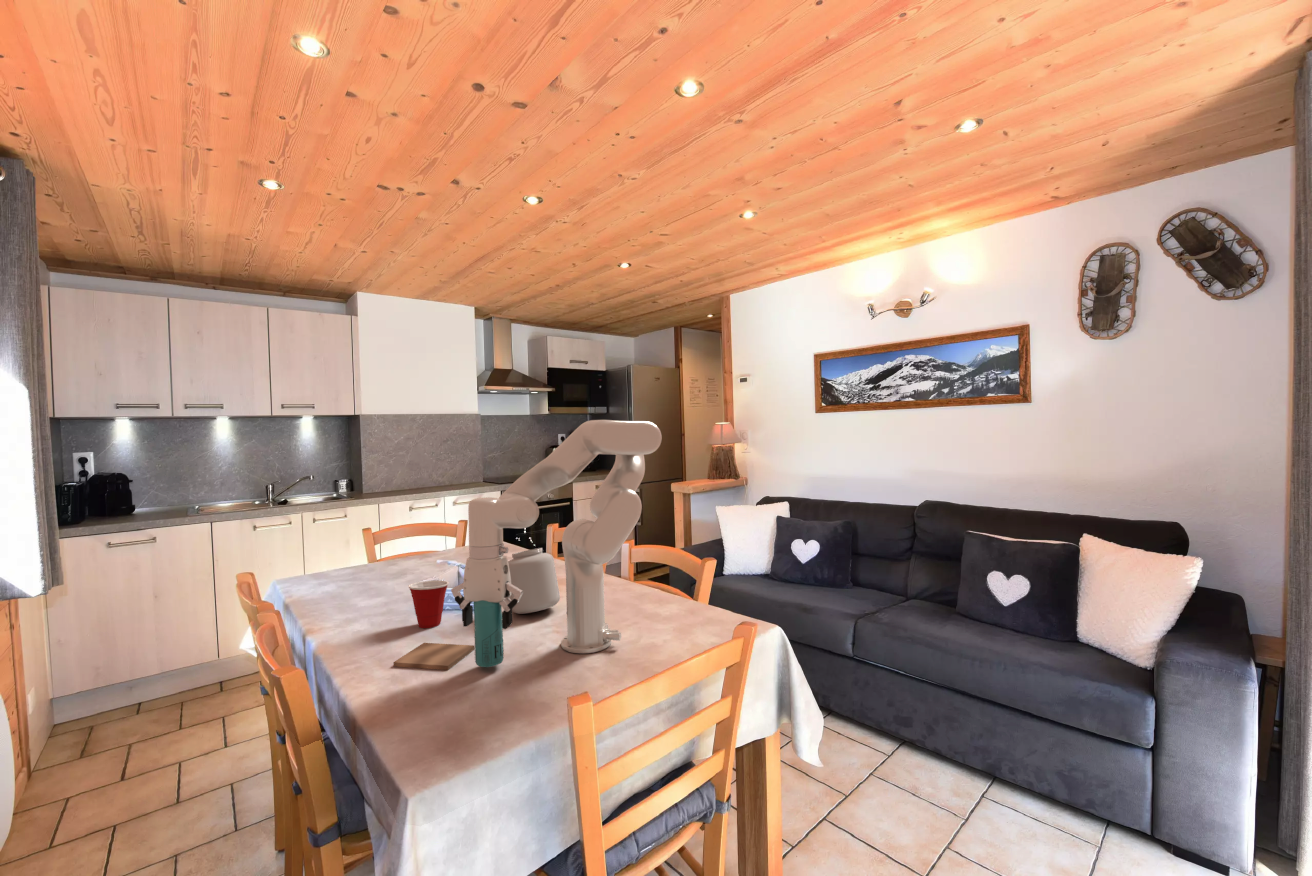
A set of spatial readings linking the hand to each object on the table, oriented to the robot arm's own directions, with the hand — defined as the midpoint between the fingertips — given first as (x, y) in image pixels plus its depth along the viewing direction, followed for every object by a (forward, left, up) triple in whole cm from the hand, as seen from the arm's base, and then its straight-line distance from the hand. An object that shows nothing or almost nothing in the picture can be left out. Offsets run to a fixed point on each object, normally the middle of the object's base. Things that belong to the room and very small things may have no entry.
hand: (487, 625), depth 129 cm
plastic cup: (+31, -25, -10) cm, 41 cm away
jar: (+7, -40, -10) cm, 41 cm away
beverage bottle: (0, 0, -10) cm, 10 cm away
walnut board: (+16, -4, -10) cm, 19 cm away
